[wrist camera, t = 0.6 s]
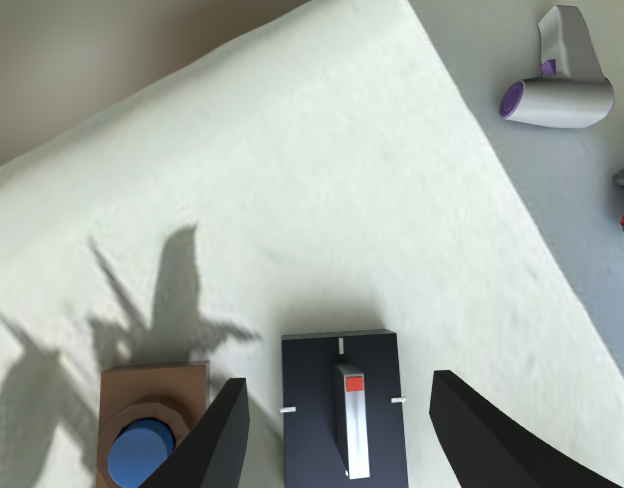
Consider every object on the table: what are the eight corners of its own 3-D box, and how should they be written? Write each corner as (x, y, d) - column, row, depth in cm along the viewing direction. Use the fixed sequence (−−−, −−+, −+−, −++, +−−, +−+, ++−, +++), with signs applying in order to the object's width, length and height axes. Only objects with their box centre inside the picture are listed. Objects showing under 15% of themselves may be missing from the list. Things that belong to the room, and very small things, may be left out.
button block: (209, 496, 29) (200, 523, 26) (104, 508, 28) (80, 539, 25) (209, 360, 31) (201, 369, 27) (110, 367, 30) (89, 377, 26)
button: (173, 473, 26) (166, 486, 25) (117, 479, 26) (105, 492, 24) (174, 417, 27) (167, 425, 25) (119, 421, 26) (108, 431, 25)
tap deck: (399, 473, 31) (413, 494, 28) (281, 487, 30) (282, 510, 27) (389, 328, 33) (400, 332, 30) (277, 335, 32) (277, 340, 29)
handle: (355, 447, 28) (371, 479, 24) (337, 449, 28) (350, 481, 23) (350, 360, 29) (364, 374, 25) (333, 362, 29) (344, 375, 24)
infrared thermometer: (559, 32, 43) (585, 133, 39) (476, 27, 41) (495, 131, 38) (593, 0, 38) (624, 110, 35) (500, -8, 37) (524, 107, 34)
